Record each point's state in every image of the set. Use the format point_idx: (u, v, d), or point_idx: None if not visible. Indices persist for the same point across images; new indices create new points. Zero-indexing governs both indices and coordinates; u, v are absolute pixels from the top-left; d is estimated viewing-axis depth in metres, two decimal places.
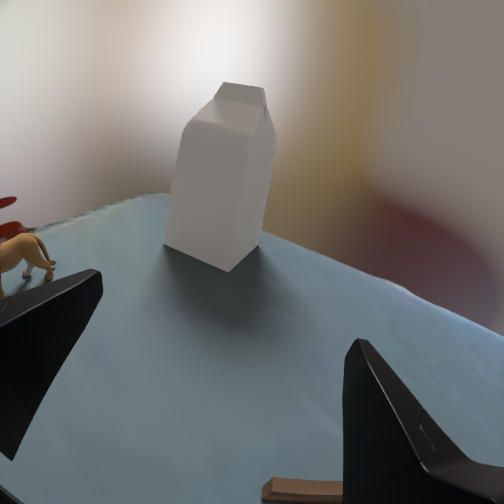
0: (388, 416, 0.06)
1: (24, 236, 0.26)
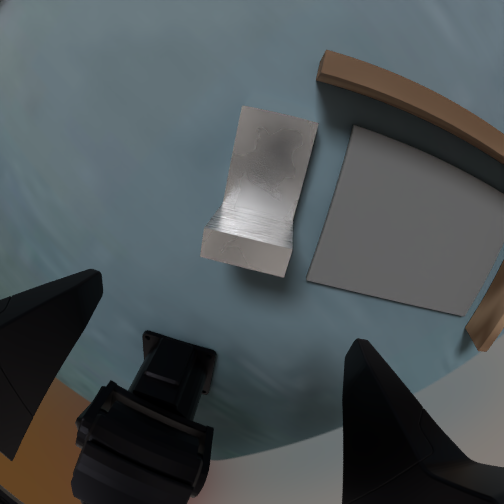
0: (388, 416, 0.06)
1: None
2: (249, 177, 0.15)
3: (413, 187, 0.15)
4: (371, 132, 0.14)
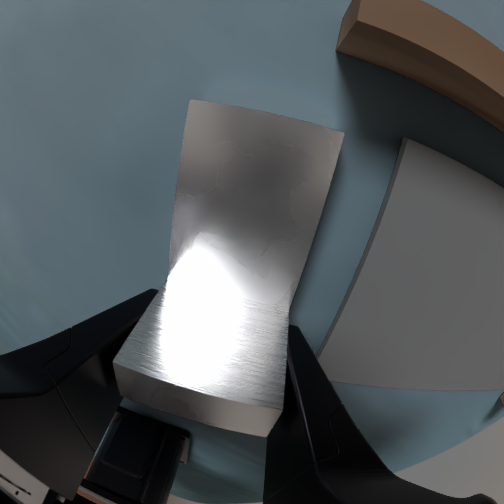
0: (295, 407, 0.06)
1: None
2: (208, 238, 0.08)
3: (484, 246, 0.08)
4: (435, 153, 0.07)
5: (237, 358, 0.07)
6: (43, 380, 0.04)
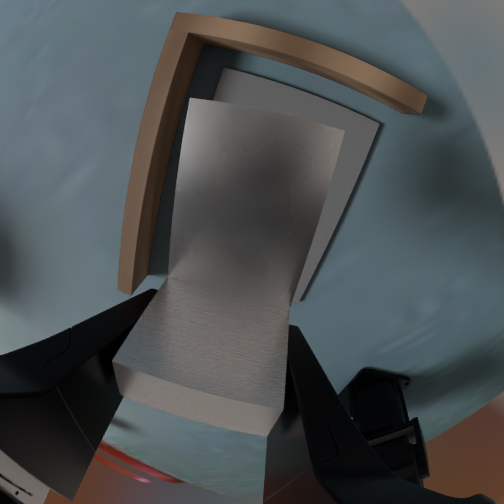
0: (295, 407, 0.06)
1: None
2: (208, 237, 0.08)
3: None
4: None
5: (237, 357, 0.07)
6: (43, 380, 0.04)
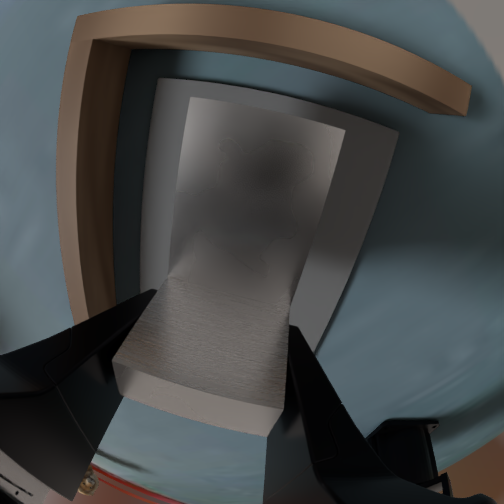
0: (295, 407, 0.06)
1: None
2: (209, 236, 0.08)
3: None
4: None
5: (237, 357, 0.07)
6: (43, 380, 0.04)
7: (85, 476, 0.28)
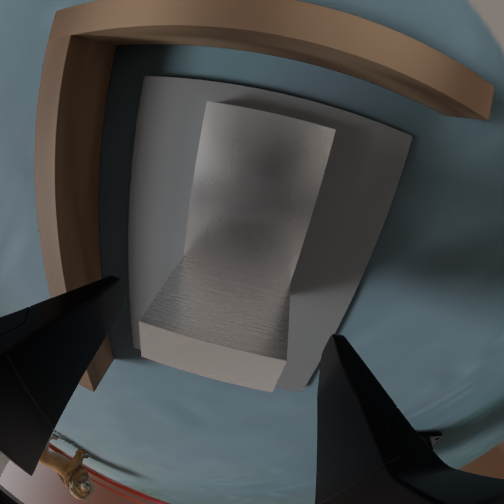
0: (357, 414, 0.06)
1: None
2: (221, 219, 0.10)
3: None
4: (133, 336, 0.15)
5: (247, 319, 0.08)
6: None
7: (80, 481, 0.27)
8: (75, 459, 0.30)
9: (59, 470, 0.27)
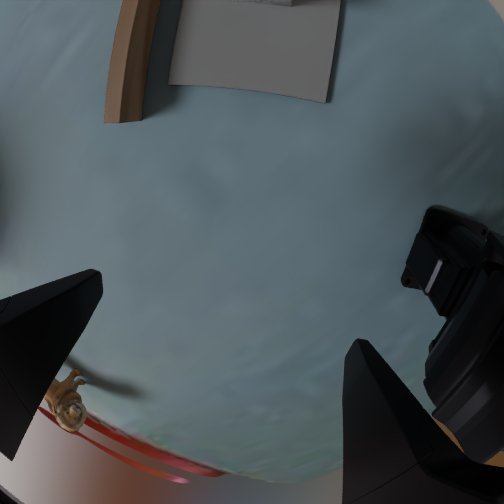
0: (388, 416, 0.06)
1: None
2: None
3: (211, 22, 0.14)
4: (171, 70, 0.15)
5: None
6: None
7: (70, 405, 0.28)
8: (68, 380, 0.31)
9: (47, 393, 0.28)
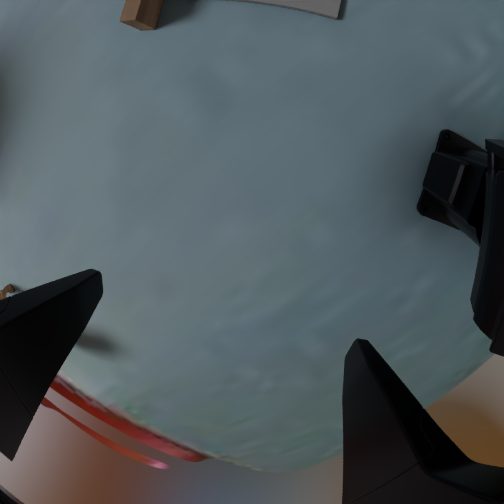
0: (388, 416, 0.06)
1: None
2: None
3: None
4: None
5: None
6: None
7: None
8: None
9: None
